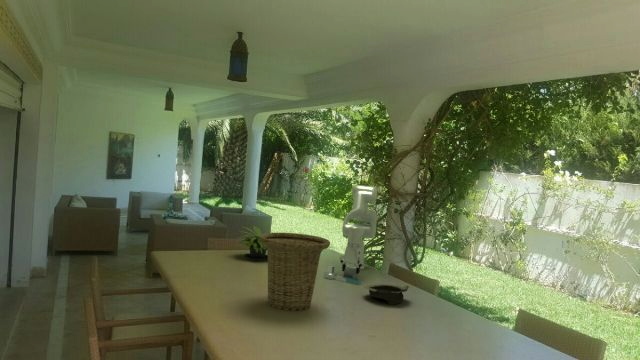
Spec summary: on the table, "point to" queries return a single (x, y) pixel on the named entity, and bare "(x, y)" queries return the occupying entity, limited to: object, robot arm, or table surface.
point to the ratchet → (332, 275)
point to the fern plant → (254, 247)
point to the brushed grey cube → (350, 273)
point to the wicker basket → (292, 268)
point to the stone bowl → (387, 292)
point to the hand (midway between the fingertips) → (350, 272)
